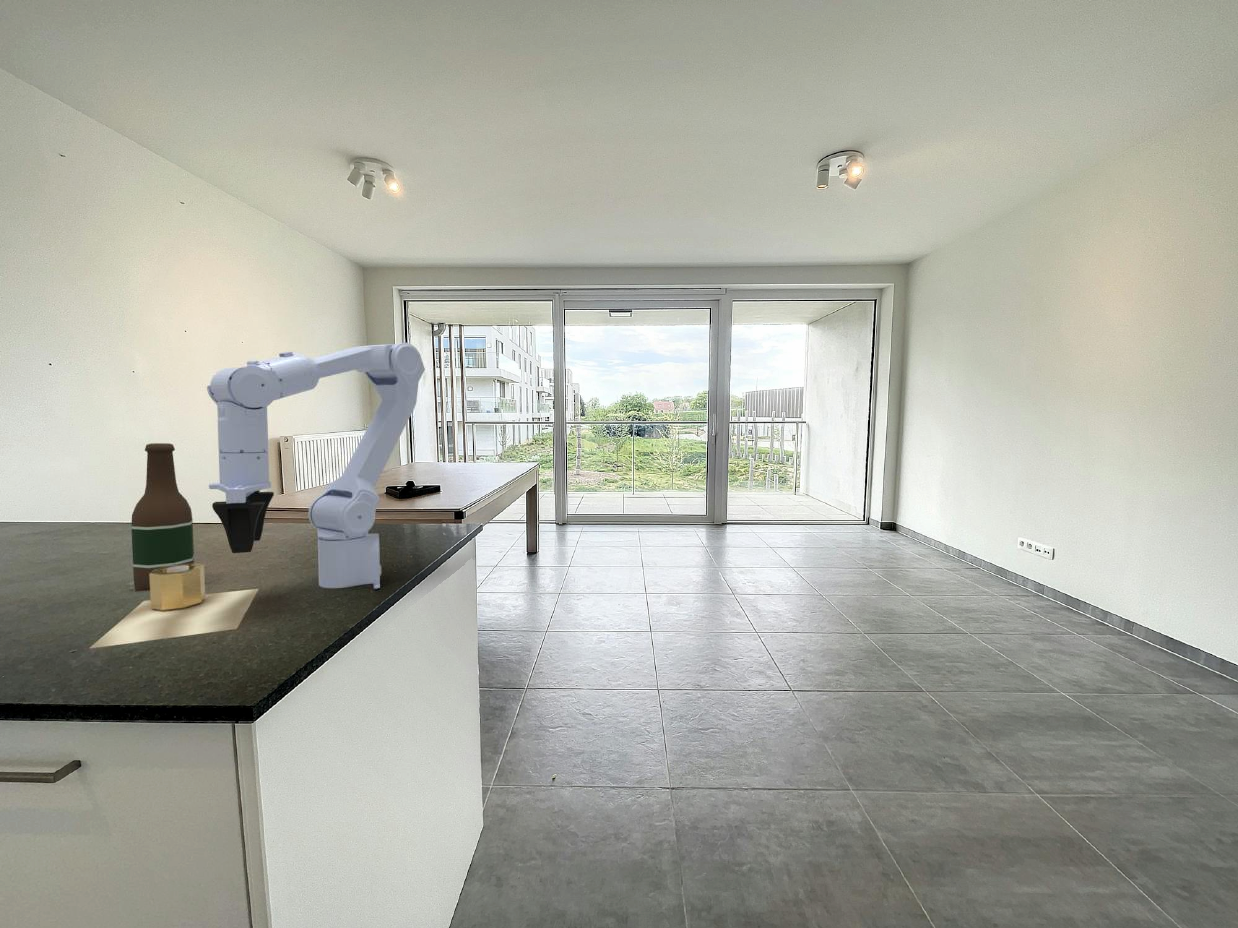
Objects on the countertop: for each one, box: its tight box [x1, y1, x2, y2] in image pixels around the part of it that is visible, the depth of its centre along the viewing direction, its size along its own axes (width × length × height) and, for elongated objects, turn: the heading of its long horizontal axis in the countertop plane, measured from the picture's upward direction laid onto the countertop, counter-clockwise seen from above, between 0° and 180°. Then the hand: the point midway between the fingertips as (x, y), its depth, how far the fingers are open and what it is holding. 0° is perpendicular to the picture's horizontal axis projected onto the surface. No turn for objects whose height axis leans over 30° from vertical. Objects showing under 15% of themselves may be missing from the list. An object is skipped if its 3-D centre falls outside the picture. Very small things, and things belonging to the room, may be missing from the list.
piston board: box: [88, 565, 260, 650], centre depth 70 cm, size 14×18×6 cm
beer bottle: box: [130, 442, 195, 592], centre depth 83 cm, size 8×8×24 cm
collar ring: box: [149, 562, 206, 610], centre depth 74 cm, size 6×6×5 cm
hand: (247, 546), depth 73 cm, fingers open, 7 cm apart
